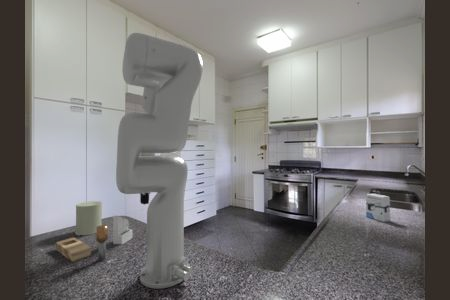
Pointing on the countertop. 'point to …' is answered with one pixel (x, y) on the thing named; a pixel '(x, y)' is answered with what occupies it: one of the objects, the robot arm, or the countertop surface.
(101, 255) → the awl
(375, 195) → the ink box
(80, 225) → the can
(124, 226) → the white angled block
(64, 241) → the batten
